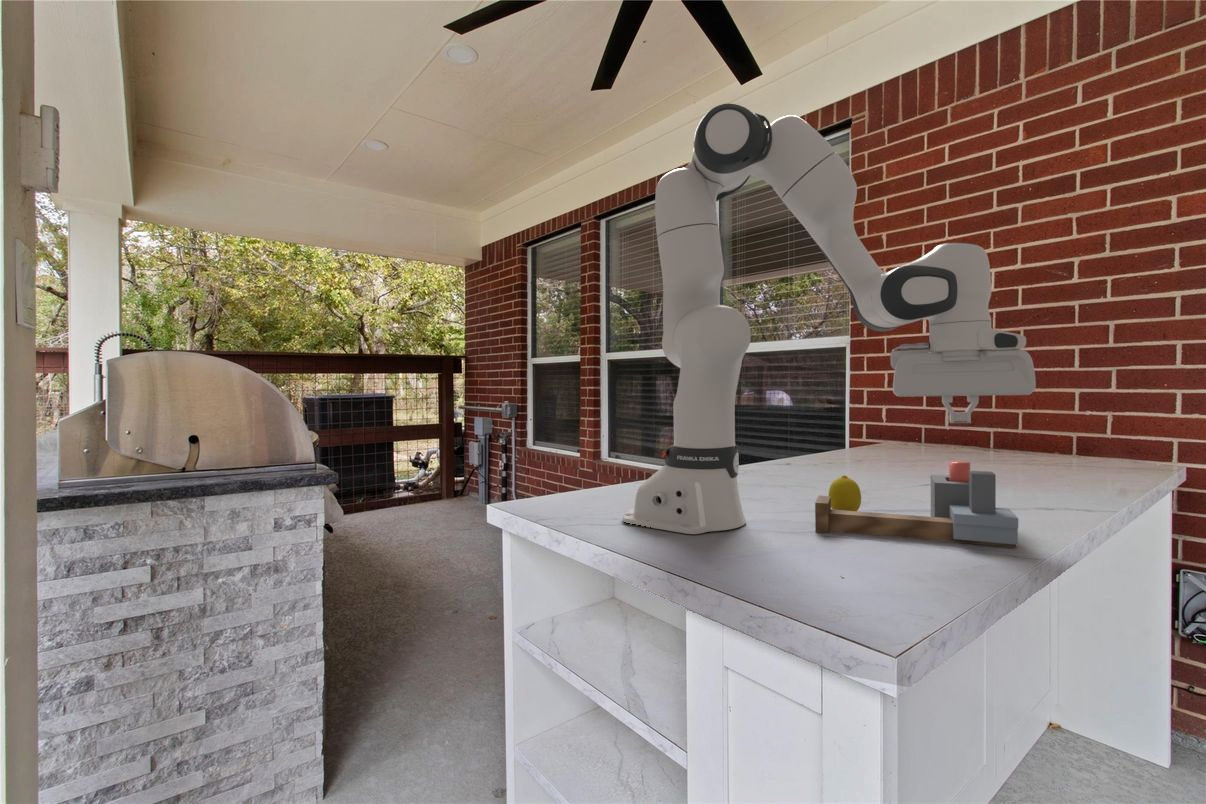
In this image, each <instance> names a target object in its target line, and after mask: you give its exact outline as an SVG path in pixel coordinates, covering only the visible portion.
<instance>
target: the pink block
mask: <svg viewBox="0 0 1206 804" xmlns="http://www.w3.org/2000/svg"><path fill="white" fill-rule="evenodd" d="M948 463H949V465H948V471H949V473H948V474H949V475H948V476H949V481H952V482H969V471H971V462H970V461H962V460H950V461H949V462H948Z"/></svg>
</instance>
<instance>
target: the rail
mask: <svg viewBox="0 0 1206 804" xmlns="http://www.w3.org/2000/svg"><path fill="white" fill-rule="evenodd" d="M814 512H815V513H814V515H815V517H814V519H815V522H814V523H815V526H814V527H815V533H824V534H829V532H839V533H840V532H841V533H849V534H850V533H852V534H861V535H862V534H863V535H873V536H883V537H884V536H885V537H894V538H895V537H896V538H907V539H916V540H917V539H918V540H929V541H940V542H950V543H961V544H962V543H963V544H972V545H973V544H974V545H985V546H996V547H1004V548H1005V547H1008V548H1017V545H1016V544H1005V543H993V542H982V541H970V540H959V539H954V538H953V520H952V518H941V517H931V516H925V515H924V516H923V515H913V514H911V515H910V514H900V513H899V514H898V513H883V512H874V511H873V512H871V511H859V510H858V511H846V510H833V509H832V508H831V496H829V495H818V496H817V498H816V500H815V501H814Z"/></svg>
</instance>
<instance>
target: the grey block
mask: <svg viewBox="0 0 1206 804" xmlns="http://www.w3.org/2000/svg"><path fill="white" fill-rule="evenodd" d="M949 505H960V506H969V482H952V481H949V475H946V474H930V517H941V518H950V514H949Z"/></svg>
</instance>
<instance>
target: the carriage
mask: <svg viewBox="0 0 1206 804" xmlns="http://www.w3.org/2000/svg"><path fill="white" fill-rule="evenodd" d="M996 476H997V475H996V474H995V473H994V472H993V471H988V470H987V471H986V470H985V471H983V470H970V471H969V506H960V505H949V514H950V518H952V520H953V538H954V539H959V540H970V541H982V542H993V543H1005V544H1016V546H1017V545H1018V544H1019V535H1018V533H1019V531H1018V530H1019V518H1018V516H1017V515H1016V514H1015V513H1014V512H1013V511H1012V510H1011V509H1010V508H1005V507H1004V508H1002V507H996V501H997V500H996V499H997V498H996V495H997V494H996V489H997V488H996V484H997V483H996V481H997V480H996Z"/></svg>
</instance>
